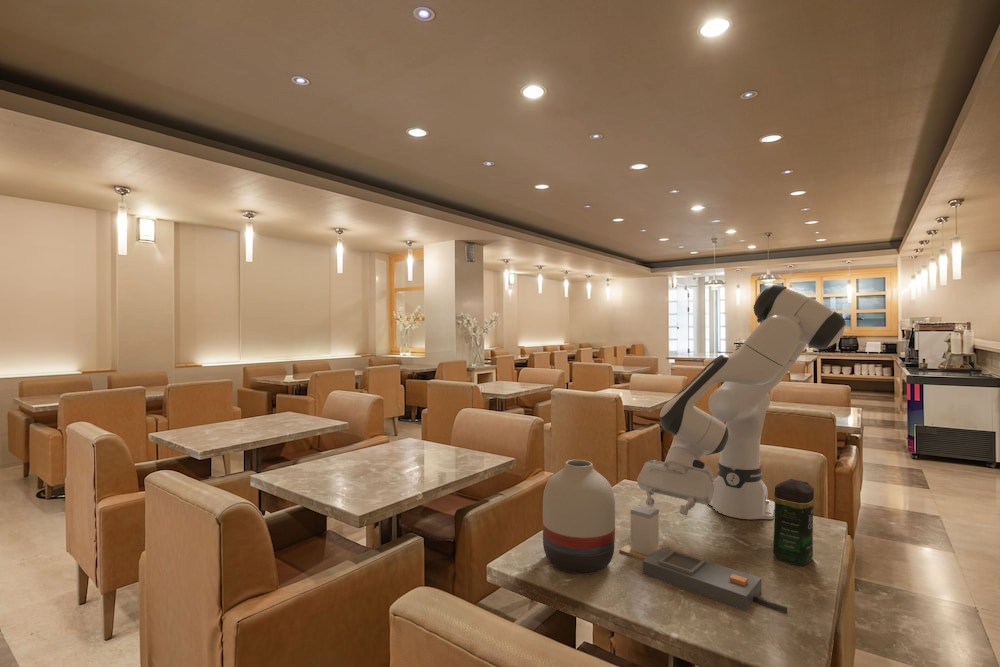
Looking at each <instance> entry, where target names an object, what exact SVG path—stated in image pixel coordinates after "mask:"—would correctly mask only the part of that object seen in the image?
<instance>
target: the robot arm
mask: <svg viewBox="0 0 1000 667" xmlns="http://www.w3.org/2000/svg"><path fill="white" fill-rule="evenodd" d="M752 308H753V313H754V316H756V322H757V323H758V324H759V325H758V326H757V327H756V328H755V329H754V330H753V331H752V332H751V333H750V335H749V336H748V337H747V338H746V339H745V341H744V342H743V344H741V346H740V347H739V348H738V349H736V350H735V351H734V352H731V353H730V354H720V355H719V356H716V357H715V358H714V359H713V360H712V361H711V362H709V363H708V364H707V365H706V366H705V367H704V368H703V369H702V370H701V371H700V372H698V374H697V375H696V376H695V377H694V378H692V380H691V381H689V383H688V384H686V386H685V387H683V388H682V389H681V390H680V391H679V392H678V393H677V394H676V395H675V396H673V397H672V398H671V399H670V400H668V402H666V403H665V404H664V406H663V407H662V408H661V411H660V413H659V415H658V418H659V422H660V424H661V427H662V429H663V431H665V432H667V433H670V434H672V435H674V436H673V439H672V441H673V442H672V445H671V447H670V448H669V449H668V452H667V455H666V457H665V459H664V461H661V460H659V461H658V460H656V459H655V460H654V459H651V460H648V461H645V462H644V464H643V467H642V469H641V470H640V472H639V474H638V476H637V478H636V483H637V485H638V487H639V488H640V490H643V491H646V496H647V498H646V500H645V503H646V506H648V507H652V508H654V507H653V506H654V504H655V500H654V498H652V496H654V494H659V495H663V496H666V497H667V496H668V497H671V498H676V499H679V500H683V501H687V503H685V505H680V508H679V513H680V515H684V516H688V513H689V511H691V510H692V509H693V508H694V507H695V505H696V504H701V505H705V506H709V505H711V506H713V507H712V509H713V510H714V509H715V510H714V511H716V512H717V511H718V512H717V513H719V514H721V513H722V514H721V515H725V516H727V517H730V518H735V519H741V520H742V519H743V520H773V519H774V517H775V511H774V510H775V501H773V500H770V499H768V487H767V485H766V484H765V482H764V481H763V472H762V471H763V464H761V463H760V461H761V458H760V456H761V455H760V454H761V451H760V450H761V438H762V433H763V429H764V424H765V418H766V414H767V411H768V409H769V407H770V406H771V405H770V404H771V396H770V394H769V393H770V392H771V390H773V389H774V388H775V387H776V386H778V385H779V384H780V383H781V382H782V381H783V379H784V378H785V376H786V375H787V374H788V372H789V371H790V369H792V367H793V365H794V364H795V363H796V361H797V360H798V358H799V357H800V356H801V355H802V352H803V351H804V349H805V348H806V346H807V345H808V349H812V348H813V349H816V350H817V349H818V350H825V349H828V348H829V347H831V346H833V345H834V344H836V343H837V342H839V341H840V339H841V337H842V336H843V335H844V331H845V326H846V320H845V318H844V317H843V316H842V315H841V314H839V313H838V312H837V311H835V310H834V311H833V310H831V309H830V308H829V307H827V306H825V305H824V304H822V303H821V302H819V301H818V300H815V299H814V298H811V297H808V296H807V295H804V294H802V293H800V292H798V291H795V290H793V289H790V288H788V287H787V286H784V285H782V284H777V283H773V284H769V285H768V286H766V287H765V288H764V289H763V290H761V291H760V292H759V293H758V295H757V296H756V299H755V301H754V304H753V307H752ZM722 382H723V383H722ZM719 383H722V384H721V385H720V386H719V387H718V388H717V389H715V390H714V391H713V392H712V393H711V395H709V399H708V401H707V404H708V409H709V412H710V413H711V414H709V413H708V412H706V411H704V410H702V409H701V408H700V407H697V406H696V405H694V404H695V403H696V402H697V401H698V400H699V399H700V398H701V397H702V396H703V395H704V394H705V393H706V392H707V391H708V390H709V389H710V388H711V387H712V386H714V385H716V384H719ZM724 422H725V423H724ZM718 453H719V462H718V464H717V477H715V473H714V472H713V470H712V468H711V466H710V465H709V464H708V463H707V462H705V461H702V460H701V458H702V456H711V455H714V454H718ZM708 504H709V505H708ZM711 506H710V507H711ZM773 516H774V517H773Z"/></svg>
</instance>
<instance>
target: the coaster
mask: <svg viewBox="0 0 1000 667" xmlns="http://www.w3.org/2000/svg"><path fill="white" fill-rule="evenodd" d="M662 547H663V548H665V547H664V546H661V545H658V550H659V549H660V548H662ZM666 548H667V547H666ZM667 549H669V548H667ZM655 552H656V551H655ZM655 552H654V553H655ZM619 553H620V554H624V555H626V556H629V557H633V558H635V559H638V560H641V561H643V560H645V559H646V558H648V557H649V556H648V555H645V554H642V553H639V552H636V551H633V550H631V542H630V543H627V544H626V545H624V546H622V547H621V548H619ZM651 555H652V554H651Z"/></svg>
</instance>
